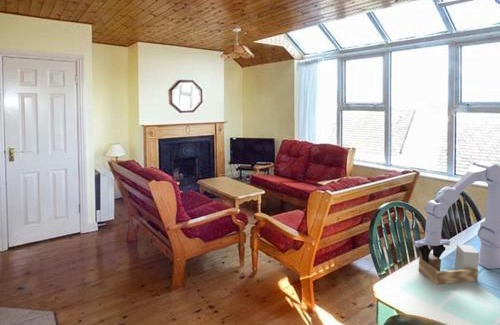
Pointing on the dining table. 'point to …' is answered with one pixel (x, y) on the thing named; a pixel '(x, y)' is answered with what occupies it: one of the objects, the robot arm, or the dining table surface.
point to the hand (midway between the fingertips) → (430, 262)
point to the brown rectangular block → (432, 261)
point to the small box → (466, 257)
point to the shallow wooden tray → (447, 274)
